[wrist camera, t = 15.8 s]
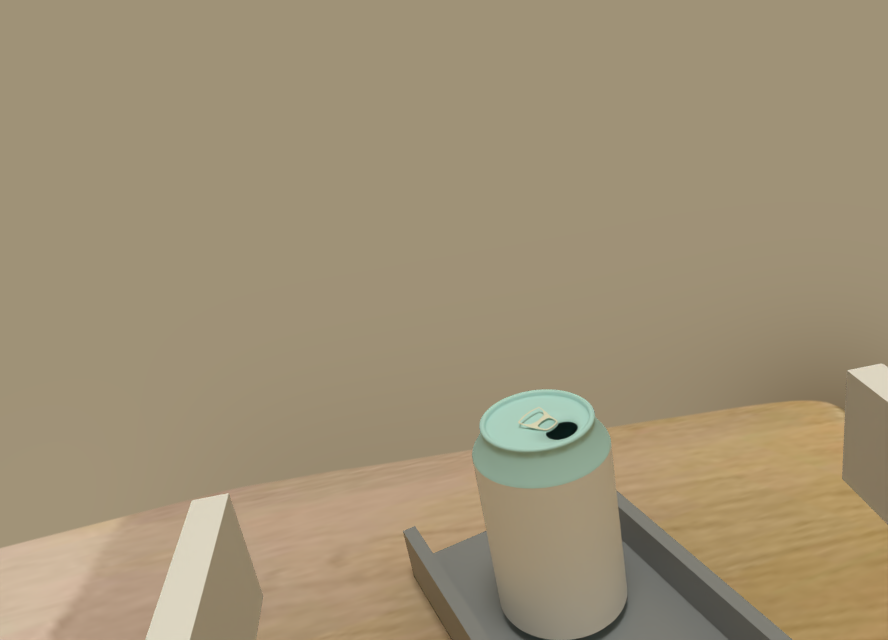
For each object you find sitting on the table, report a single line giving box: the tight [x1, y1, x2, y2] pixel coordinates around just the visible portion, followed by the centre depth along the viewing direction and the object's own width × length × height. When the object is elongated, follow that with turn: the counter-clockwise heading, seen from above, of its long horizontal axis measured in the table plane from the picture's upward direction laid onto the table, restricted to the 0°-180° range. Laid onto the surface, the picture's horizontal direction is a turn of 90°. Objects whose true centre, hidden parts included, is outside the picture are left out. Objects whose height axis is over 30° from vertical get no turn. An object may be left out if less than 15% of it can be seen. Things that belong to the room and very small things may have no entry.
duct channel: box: [403, 490, 792, 640], centre depth 42 cm, size 13×20×4 cm, turn 23°
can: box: [472, 390, 627, 640], centre depth 41 cm, size 7×7×12 cm
